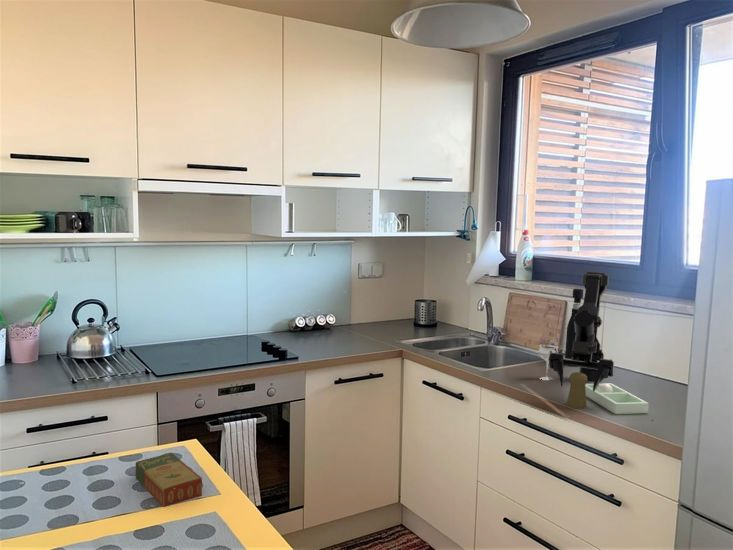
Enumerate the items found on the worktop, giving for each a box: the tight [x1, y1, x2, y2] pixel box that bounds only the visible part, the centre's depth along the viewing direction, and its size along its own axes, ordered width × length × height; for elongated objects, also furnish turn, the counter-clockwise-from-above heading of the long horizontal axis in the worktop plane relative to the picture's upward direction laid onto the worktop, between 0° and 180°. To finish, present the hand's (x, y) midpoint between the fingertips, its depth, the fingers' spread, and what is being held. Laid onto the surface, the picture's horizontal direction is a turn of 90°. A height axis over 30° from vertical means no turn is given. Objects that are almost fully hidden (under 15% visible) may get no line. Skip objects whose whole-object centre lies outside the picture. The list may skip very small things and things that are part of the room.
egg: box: [597, 382, 613, 393], centre depth 190 cm, size 5×5×5 cm
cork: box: [566, 371, 589, 409], centre depth 182 cm, size 6×6×11 cm
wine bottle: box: [564, 288, 584, 368], centre depth 233 cm, size 6×6×30 cm
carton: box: [135, 452, 203, 508], centre depth 124 cm, size 8×16×4 cm, turn 39°
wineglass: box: [538, 343, 559, 381], centre depth 213 cm, size 7×7×12 cm
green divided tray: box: [585, 382, 649, 415], centre depth 186 cm, size 20×10×4 cm, turn 9°
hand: (577, 388), depth 180 cm, fingers open, 9 cm apart
